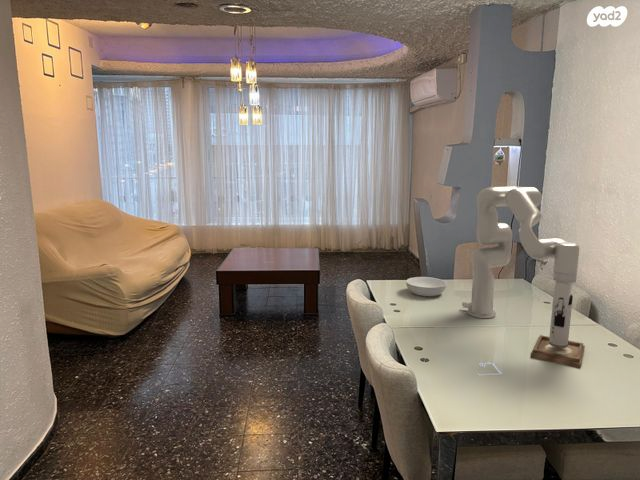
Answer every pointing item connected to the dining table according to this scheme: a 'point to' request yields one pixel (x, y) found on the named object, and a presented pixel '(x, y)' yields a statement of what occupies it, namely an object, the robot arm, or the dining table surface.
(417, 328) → the dining table surface
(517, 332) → the dining table surface
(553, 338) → the travel mug
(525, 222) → the robot arm
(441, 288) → the serving bowl
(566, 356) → the wooden tray
